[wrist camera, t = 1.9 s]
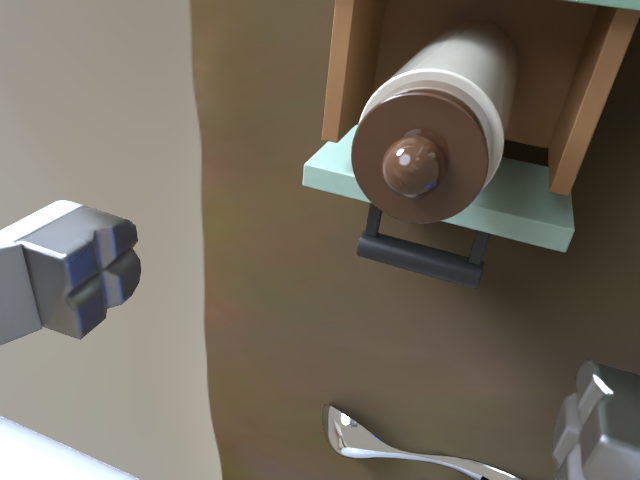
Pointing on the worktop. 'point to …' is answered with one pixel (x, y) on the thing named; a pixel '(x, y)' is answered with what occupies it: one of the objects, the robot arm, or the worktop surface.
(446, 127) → the canister with knobbed lid
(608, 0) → the cabinet
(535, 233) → the drawer
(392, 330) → the worktop surface
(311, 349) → the worktop surface
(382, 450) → the silver spoon
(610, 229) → the worktop surface
